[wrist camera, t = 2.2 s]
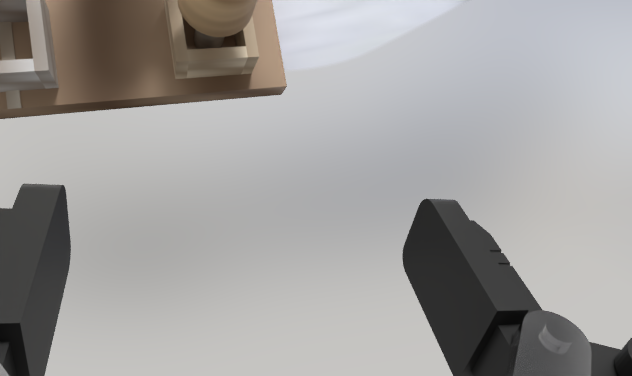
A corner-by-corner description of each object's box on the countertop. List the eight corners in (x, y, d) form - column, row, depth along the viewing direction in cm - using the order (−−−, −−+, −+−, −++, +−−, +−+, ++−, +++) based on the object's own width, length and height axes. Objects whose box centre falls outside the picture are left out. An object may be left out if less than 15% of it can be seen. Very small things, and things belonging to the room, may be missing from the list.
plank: (262, -16, 33) (275, -54, 29) (281, 94, 32) (297, 70, 28) (-80, -8, 27) (-119, -52, 24) (-67, 124, 27) (-105, 100, 23)
